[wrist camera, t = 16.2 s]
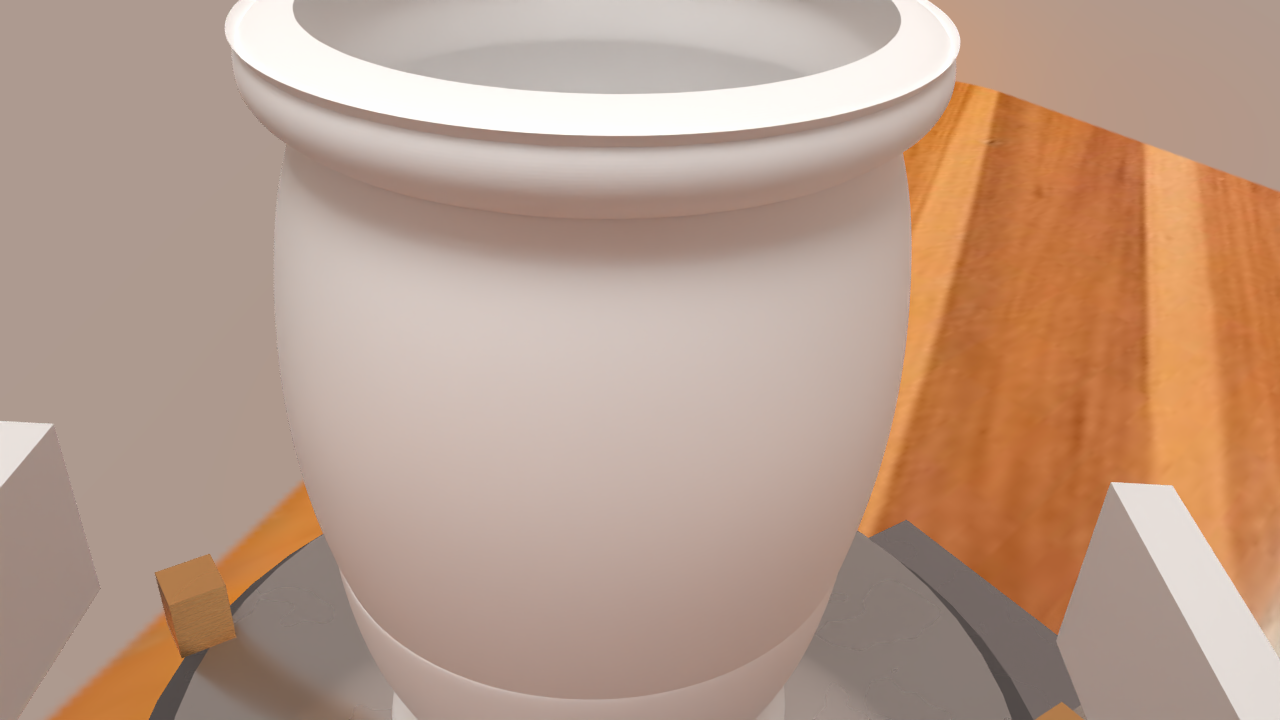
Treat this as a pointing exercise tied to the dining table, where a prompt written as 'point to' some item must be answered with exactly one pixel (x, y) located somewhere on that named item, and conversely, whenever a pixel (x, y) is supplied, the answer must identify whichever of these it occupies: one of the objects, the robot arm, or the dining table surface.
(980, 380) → the dining table surface
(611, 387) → the jar
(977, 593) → the cylinder
